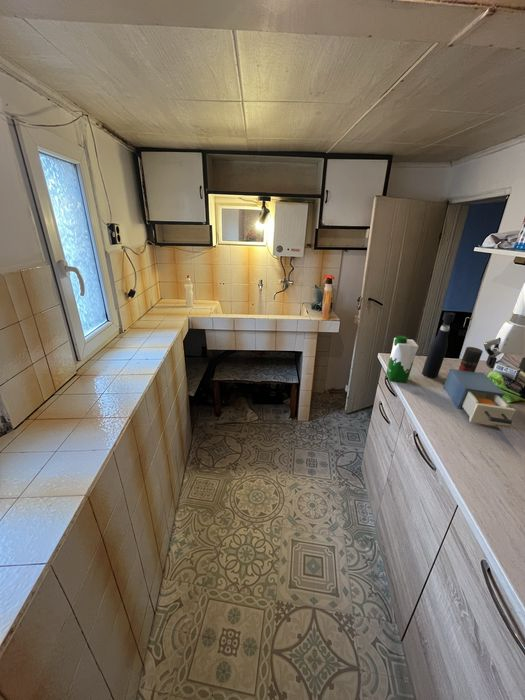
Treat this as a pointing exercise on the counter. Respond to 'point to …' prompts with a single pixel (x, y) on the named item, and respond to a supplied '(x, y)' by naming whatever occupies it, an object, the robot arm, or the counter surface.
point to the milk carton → (401, 359)
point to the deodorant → (470, 359)
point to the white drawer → (487, 409)
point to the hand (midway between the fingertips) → (505, 368)
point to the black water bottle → (438, 348)
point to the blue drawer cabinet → (468, 385)
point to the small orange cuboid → (485, 401)
